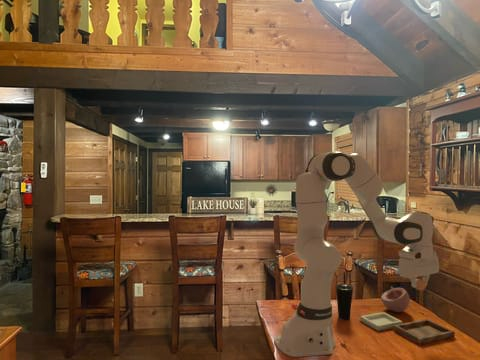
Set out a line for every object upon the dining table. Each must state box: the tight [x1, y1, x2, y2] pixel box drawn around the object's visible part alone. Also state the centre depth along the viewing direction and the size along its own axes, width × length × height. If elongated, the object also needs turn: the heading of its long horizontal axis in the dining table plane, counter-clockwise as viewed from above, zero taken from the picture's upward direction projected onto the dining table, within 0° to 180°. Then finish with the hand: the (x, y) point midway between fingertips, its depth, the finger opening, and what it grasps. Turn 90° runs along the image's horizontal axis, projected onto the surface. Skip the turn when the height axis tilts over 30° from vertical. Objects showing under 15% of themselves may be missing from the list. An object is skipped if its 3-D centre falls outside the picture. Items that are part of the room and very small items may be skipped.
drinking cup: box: [335, 271, 354, 321], centre depth 141 cm, size 8×8×20 cm
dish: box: [393, 318, 456, 346], centre depth 126 cm, size 18×12×2 cm, turn 110°
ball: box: [415, 278, 427, 291], centre depth 126 cm, size 4×4×4 cm
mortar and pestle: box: [380, 286, 411, 313], centre depth 148 cm, size 12×12×12 cm
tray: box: [359, 311, 403, 332], centre depth 135 cm, size 13×10×2 cm
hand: (419, 286), depth 126 cm, fingers closed on ball, 4 cm apart
